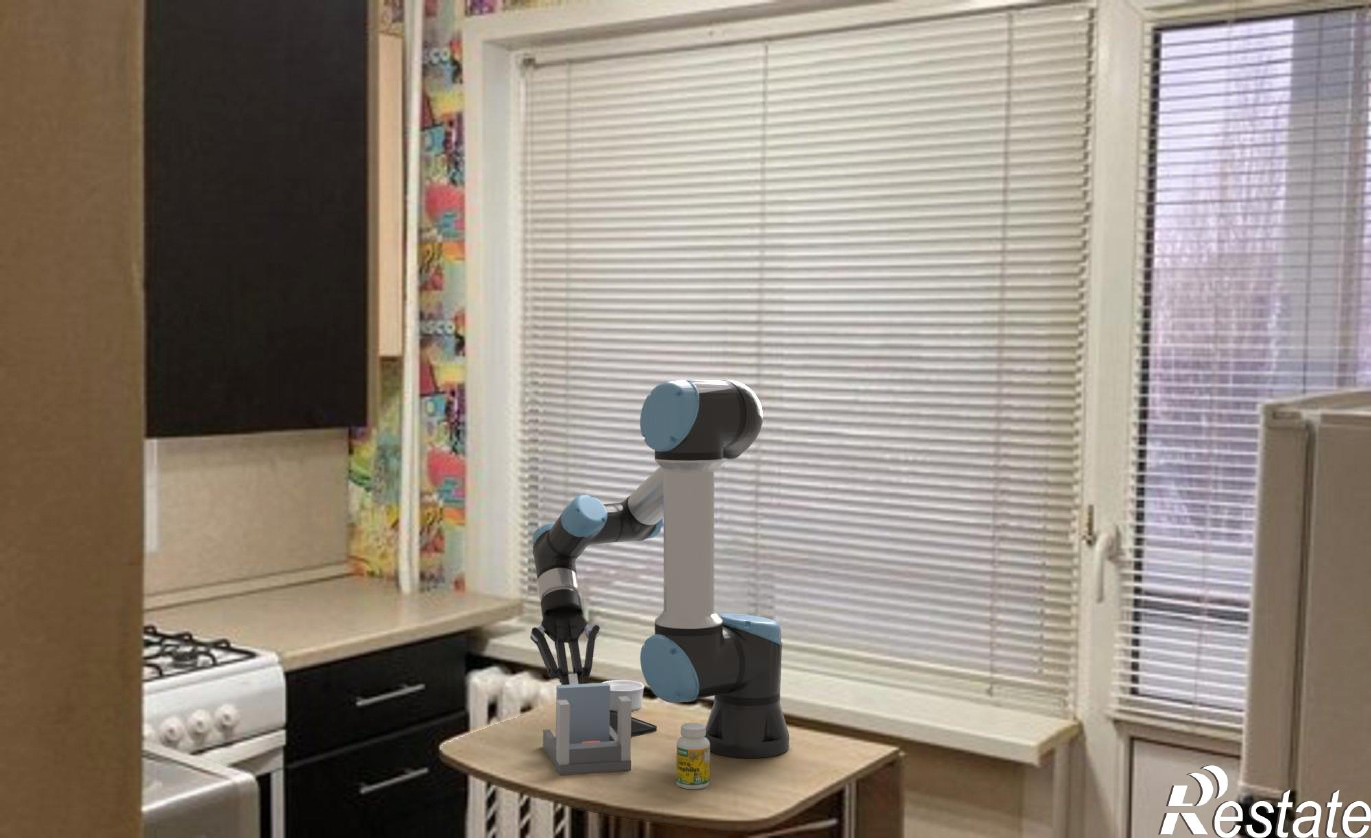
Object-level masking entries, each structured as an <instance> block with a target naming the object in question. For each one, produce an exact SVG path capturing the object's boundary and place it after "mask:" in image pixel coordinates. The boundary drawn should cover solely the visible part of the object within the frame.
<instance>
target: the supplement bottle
mask: <svg viewBox="0 0 1371 838" xmlns="http://www.w3.org/2000/svg"><path fill="white" fill-rule="evenodd" d="M705 734H706V725H705V724H702V723H698V722H688V723H684V724H681V726H680V735H681V737H679V738H678V739H677V741H676V775H675V776H676V785H677V786H678V787H680V788H682V789H686V790H702V789H705V788H707V787H708V786H709V785H710V779H711V776H710V774H711V770H710V769H711V768H710V767H711V765H710V764H711V763H710V762H711V756H710V755H711V754H710V753H711V751H710V742H709V740H708V739H707V738H705V737H704V736H705Z"/></svg>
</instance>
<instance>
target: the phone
mask: <svg viewBox="0 0 1371 838" xmlns="http://www.w3.org/2000/svg"><path fill="white" fill-rule="evenodd" d="M610 726H611V727H612V729H613V730H614V731H615V732H616V734H617V730H618V711H614V710H610ZM657 730H658V726H657V725H656V724H653V723H650V722H647V721H645V720H641V719H638V718H636V717H633V716H631V738H633V737H637V736H641V735H646V734H650V733H655V732H657Z"/></svg>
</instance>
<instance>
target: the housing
mask: <svg viewBox="0 0 1371 838" xmlns="http://www.w3.org/2000/svg"><path fill="white" fill-rule="evenodd" d="M617 712H618V730H617V734H616V732H615V731H614V730H613V729H612V727H611V726H610V727H609V741H607V742H600V741H585V742H582V743H576V744H569V725H570V704H569V703H568V701H567V700H557V724H556V723H555V735H554V733H553V732H552V731H551V729H543V730H542V734H543V735H542V747H543V749H544V750H545V753H546V754H547V756H548V758H549V759H550V761H551V763H552V764H553V766H554V768H555V770H556V771H557V773H558V775H559V776H563V775H565V776H566V775H577V774H578V775H579V774H580V775H581V774H590V773H594V774H595V773H605V772H606V773H607V772H621V771H631V770H632V760H631V757H632V756H631V755H632V754H631V753H632V751H631V749H632V745H631V744H632V737H631V717H632V711H631V700H630V699H629V698H628V697H627V696H624V697H618V711H617Z"/></svg>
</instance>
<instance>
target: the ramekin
mask: <svg viewBox="0 0 1371 838" xmlns="http://www.w3.org/2000/svg"><path fill="white" fill-rule="evenodd" d="M601 683H608V684H609V685H610V710H614V711H616V712H618V697H624V696H627V697H628V698H629V699H630V700H631V712H633V711H636V710H639V709H640V708H641V707H642V703H643V696H644V689H645V685H644V684H643V682H640V681H635V680H629V679H615V680H606V681H603V682H601Z"/></svg>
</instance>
